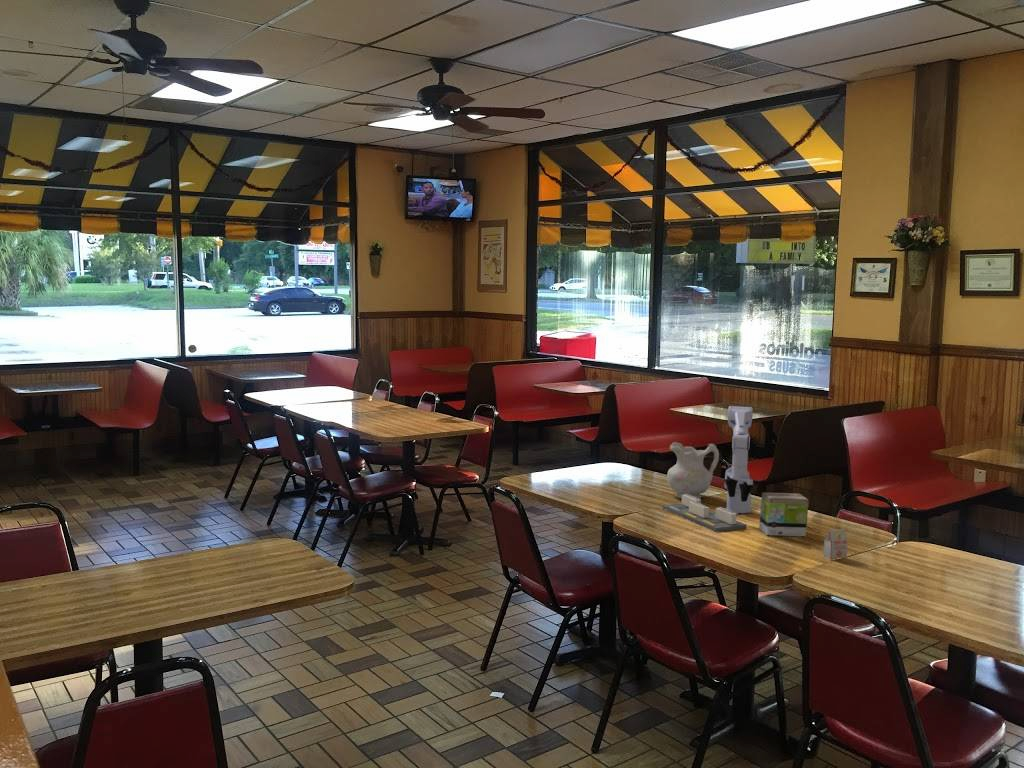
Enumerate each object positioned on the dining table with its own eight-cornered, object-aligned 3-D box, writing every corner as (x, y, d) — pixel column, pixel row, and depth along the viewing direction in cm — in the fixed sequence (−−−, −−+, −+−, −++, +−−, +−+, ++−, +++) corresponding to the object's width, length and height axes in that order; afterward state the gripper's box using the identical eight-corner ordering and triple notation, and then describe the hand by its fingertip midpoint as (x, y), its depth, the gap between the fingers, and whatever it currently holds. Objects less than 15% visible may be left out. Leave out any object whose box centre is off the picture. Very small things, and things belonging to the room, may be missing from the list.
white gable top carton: (823, 557, 300) (825, 529, 299) (839, 555, 302) (841, 528, 301) (830, 560, 297) (831, 532, 296) (846, 559, 299) (848, 530, 298)
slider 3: (720, 517, 343) (720, 506, 342) (736, 523, 334) (736, 512, 333) (715, 517, 342) (715, 506, 341) (731, 524, 333) (731, 512, 332)
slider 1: (686, 503, 364) (686, 492, 363) (700, 509, 354) (701, 498, 354) (681, 504, 363) (682, 493, 362) (695, 509, 353) (696, 498, 353)
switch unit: (691, 506, 367) (691, 502, 367) (746, 528, 334) (746, 523, 334) (662, 508, 361) (662, 504, 361) (715, 531, 328) (715, 527, 328)
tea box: (767, 536, 324) (769, 498, 322) (758, 529, 334) (761, 491, 332) (806, 537, 324) (809, 498, 323) (797, 529, 334) (799, 492, 333)
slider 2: (693, 511, 351) (694, 500, 351) (708, 517, 342) (709, 506, 342) (688, 511, 350) (689, 500, 350) (703, 517, 341) (704, 506, 341)
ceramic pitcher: (709, 495, 392) (710, 440, 392) (722, 502, 373) (723, 445, 372) (662, 494, 391) (663, 440, 390) (673, 502, 372) (674, 444, 371)
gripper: (719, 462, 343) (718, 495, 345) (743, 469, 330) (741, 504, 331) (734, 461, 346) (732, 494, 347) (758, 468, 333) (756, 502, 334)
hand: (737, 499), depth 340 cm, fingers open, 7 cm apart
